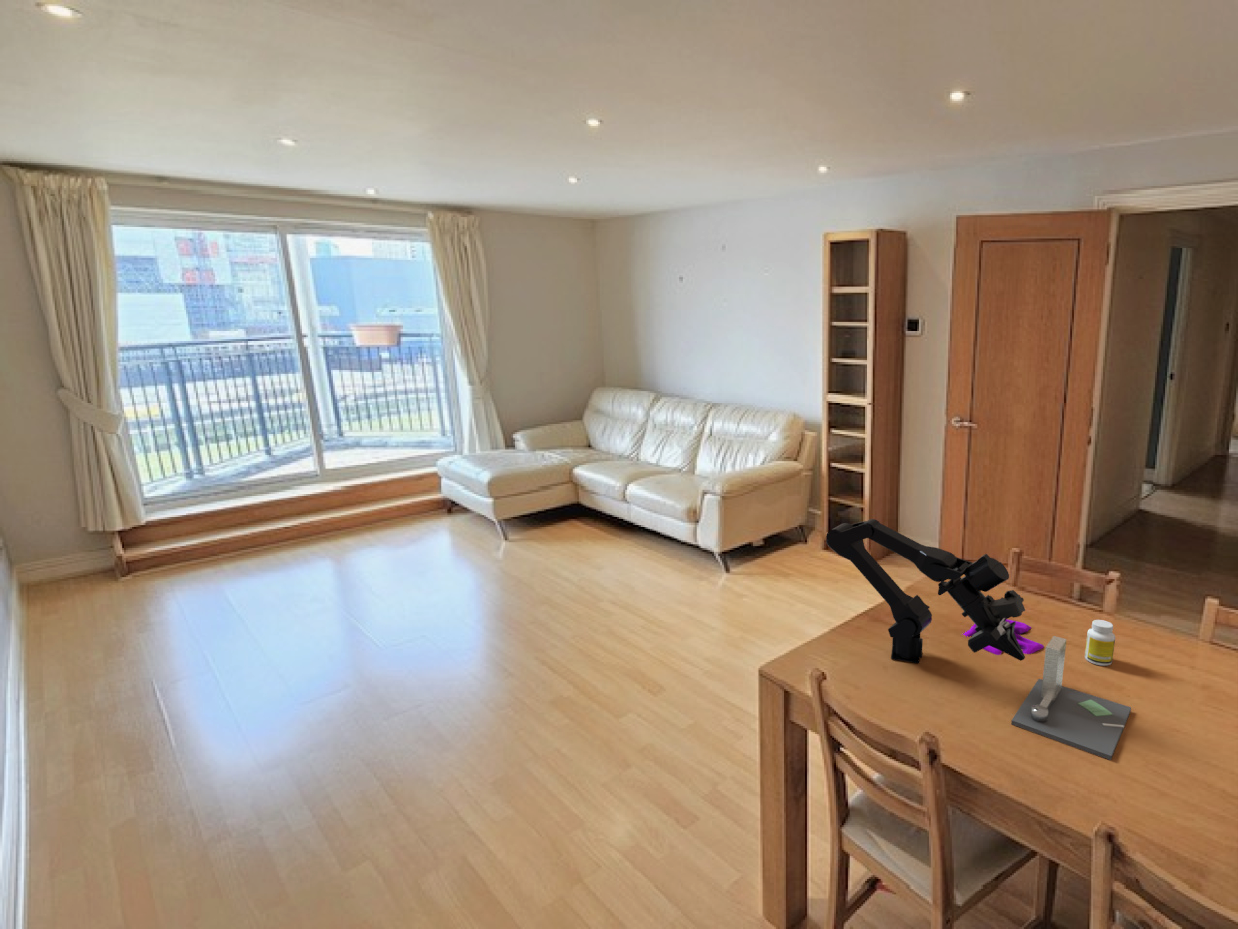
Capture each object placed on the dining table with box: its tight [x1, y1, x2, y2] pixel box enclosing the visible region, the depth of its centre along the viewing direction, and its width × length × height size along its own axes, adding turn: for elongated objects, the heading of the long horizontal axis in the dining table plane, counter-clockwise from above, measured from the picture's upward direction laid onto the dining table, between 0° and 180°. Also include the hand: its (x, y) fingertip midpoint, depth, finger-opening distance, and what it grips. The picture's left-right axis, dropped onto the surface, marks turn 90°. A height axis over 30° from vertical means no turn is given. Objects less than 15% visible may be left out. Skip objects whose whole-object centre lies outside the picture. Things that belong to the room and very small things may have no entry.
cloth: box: [962, 619, 1045, 656], centre depth 170 cm, size 22×19×6 cm
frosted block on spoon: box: [1031, 635, 1067, 722], centre depth 139 cm, size 16×3×13 cm, turn 134°
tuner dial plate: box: [1010, 678, 1132, 761], centre depth 137 cm, size 20×17×1 cm
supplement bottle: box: [1084, 619, 1116, 667], centre depth 156 cm, size 5×5×10 cm
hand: (1023, 659), depth 144 cm, fingers closed
